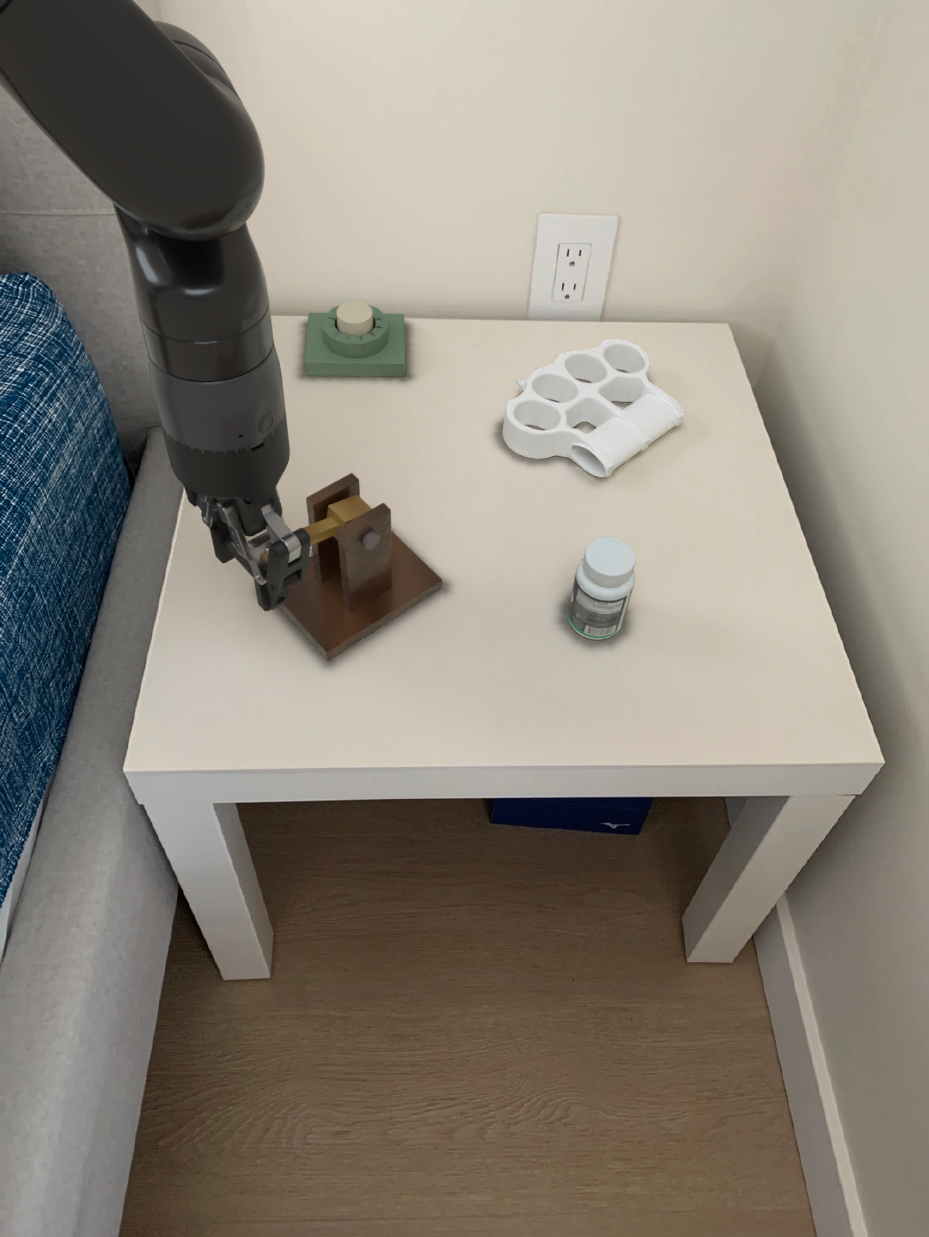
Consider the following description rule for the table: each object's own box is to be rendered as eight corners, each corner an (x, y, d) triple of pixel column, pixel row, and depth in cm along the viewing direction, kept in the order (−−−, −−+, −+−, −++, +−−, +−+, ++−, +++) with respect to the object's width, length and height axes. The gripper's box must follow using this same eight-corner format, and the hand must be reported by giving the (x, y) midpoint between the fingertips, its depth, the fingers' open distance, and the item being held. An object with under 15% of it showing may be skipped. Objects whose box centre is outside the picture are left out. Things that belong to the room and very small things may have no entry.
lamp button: (336, 337, 98) (335, 322, 96) (337, 314, 100) (336, 300, 98) (372, 337, 98) (372, 323, 97) (373, 315, 100) (372, 300, 99)
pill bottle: (590, 587, 85) (606, 522, 78) (633, 619, 83) (654, 556, 76) (554, 618, 82) (568, 554, 76) (598, 651, 81) (615, 589, 74)
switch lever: (260, 596, 70) (261, 572, 68) (222, 554, 72) (222, 530, 71) (381, 543, 76) (385, 521, 75) (343, 506, 78) (346, 483, 77)
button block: (306, 375, 99) (303, 347, 96) (309, 325, 103) (307, 297, 101) (405, 376, 99) (404, 349, 97) (404, 327, 104) (404, 299, 101)
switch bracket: (327, 661, 79) (318, 578, 70) (264, 592, 82) (248, 505, 74) (442, 588, 84) (446, 502, 75) (377, 526, 87) (375, 437, 79)
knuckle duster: (580, 502, 90) (470, 420, 96) (700, 415, 98) (592, 344, 104) (586, 477, 88) (472, 393, 93) (708, 390, 95) (597, 318, 101)
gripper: (105, 364, 60) (157, 544, 74) (233, 501, 54) (264, 669, 68) (211, 320, 63) (242, 500, 77) (343, 444, 57) (351, 615, 71)
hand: (252, 578), depth 72 cm, fingers closed on switch lever, 5 cm apart
